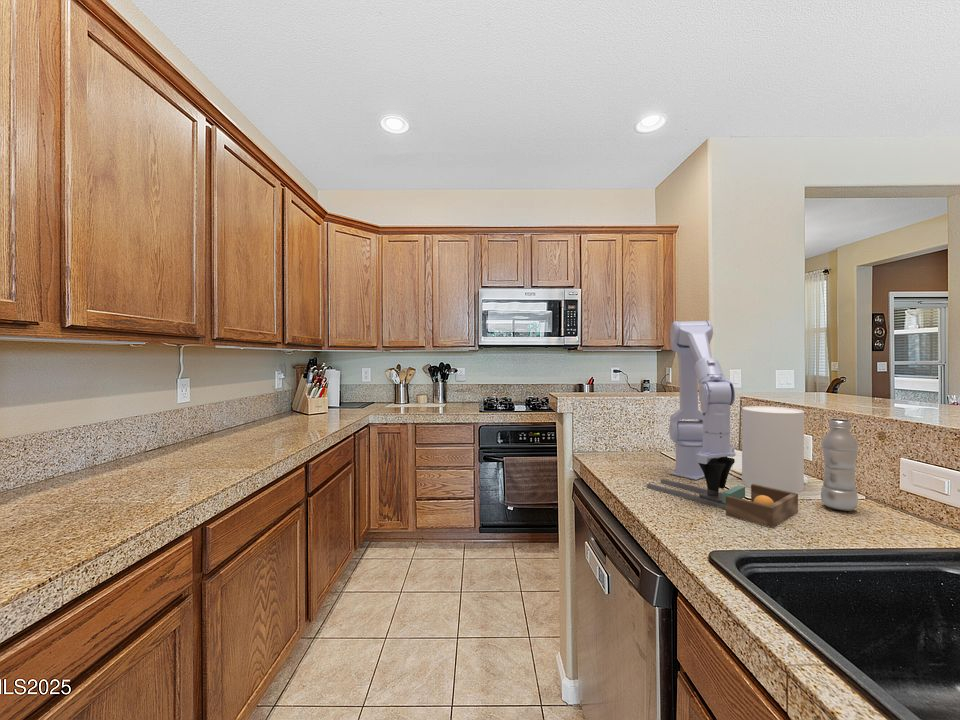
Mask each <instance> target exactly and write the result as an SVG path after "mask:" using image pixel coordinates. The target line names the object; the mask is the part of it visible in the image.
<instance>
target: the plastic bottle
mask: <svg viewBox="0 0 960 720" xmlns="http://www.w3.org/2000/svg"><path fill="white" fill-rule="evenodd" d="M828 423H829V424H828V428H829V431H827V432H826V434H825V435H824V436H823V438H822V439H821V450H822V455H823V456H822V457H823V465H824V468H823V469H824V472H823V481H822V482H823V483H822V485H821V490H820V498H821V502H822V503H823V505H824V506H825V507H827V508H830V509H833V510H838V511H845V512H853V511H854V510H855V509H856V508H858V504H859V496H858V493H857V487H856V477H855V475H856V471H855V470H856V462H857V457H858V452H859V443H858V441H857V439H856V438H855V436H854V435H853V434H852V433H851V432H850V430H852V427H851V420H849V419H843V418H830V419H829V422H828Z"/></svg>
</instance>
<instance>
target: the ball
mask: <svg viewBox="0 0 960 720" xmlns="http://www.w3.org/2000/svg"><path fill="white" fill-rule="evenodd" d="M753 502H756V503H760V504H764V505H768V506H770V505H771V504H773V503H774V502H773V500H772V499H771V498H770V497H768V496H765V495H759V496H757V497H756V498H755V499H754V501H753Z"/></svg>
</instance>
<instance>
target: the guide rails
mask: <svg viewBox="0 0 960 720" xmlns="http://www.w3.org/2000/svg"><path fill="white" fill-rule="evenodd" d="M660 484H663V485H668V486H671V487H676V488H680V489H682V490H683V489H684V490H687V491H691V492H694V493H699V494H701V493H704V492H706V491H707V488H706V489H705V488H702V487H698V486H693V485H690V484H685V483H681V482H677V481H673V480H670V479H665V478H661V479H660ZM646 488H648V489H650V490H653V491H658V492H662V493H665V494H668V495H669V494H670V495H671V496H676V497H680V498H684V499H687V500H691V501H694V502H697V503H700V504H705V505H709V506H712V507H716V508H719V509H724V510H726V504H725V503H721V502H718V501H714V500H710V499H706V498H702V497H699V495H695V494H690V493H687V492H684V491H683V492H682V491H679V490H675V489H671V488H669V487H664V486H660V485H658V484H657V485H656V484H654V483H653V484H652V483H647V484H646Z"/></svg>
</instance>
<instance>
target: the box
mask: <svg viewBox="0 0 960 720" xmlns="http://www.w3.org/2000/svg"><path fill="white" fill-rule="evenodd" d="M759 495H765V496H768V497H770V498H771V499H772V500H773V502H774V503H773V504H771V505H770V506H768V505H764V504H760V503H756V502H753V501H754V499H755V498H756V497H757V496H759ZM798 512H799V493H792V492H787V491H783V490H778V489H774V488H769V487H764V486H760V485H755V484H752V485H751V487H750V500H748V499H744V498H742V499H740V498H736V497H732V496H726V509H725V515H726V516H729V517H732V518H737V519H740V520H743V521H747V522H751V523H754V524H757V525H760V524H761V525H760V526H764V525H765V527H767V526H769V527H768V528H771V527H773V528H775V527H776V526H778V525H780V524H781V523H783V522H785V521H786V520H788V519H790V518H791V517H793V516H794V515H796V514H797V513H798Z"/></svg>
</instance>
